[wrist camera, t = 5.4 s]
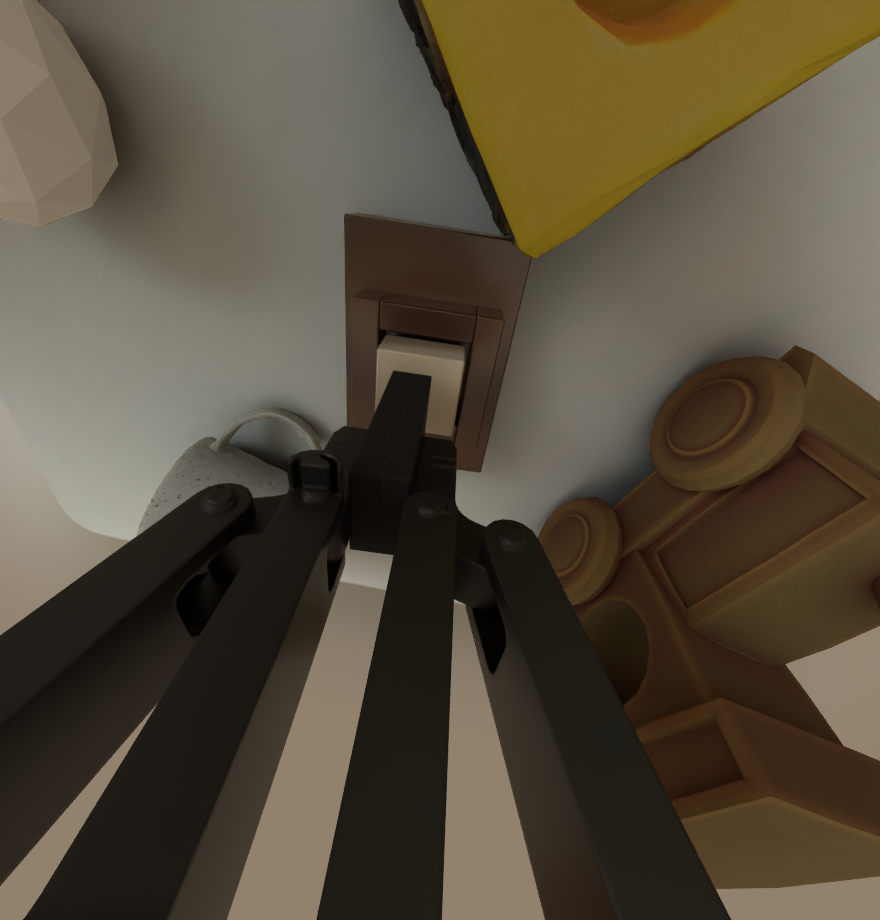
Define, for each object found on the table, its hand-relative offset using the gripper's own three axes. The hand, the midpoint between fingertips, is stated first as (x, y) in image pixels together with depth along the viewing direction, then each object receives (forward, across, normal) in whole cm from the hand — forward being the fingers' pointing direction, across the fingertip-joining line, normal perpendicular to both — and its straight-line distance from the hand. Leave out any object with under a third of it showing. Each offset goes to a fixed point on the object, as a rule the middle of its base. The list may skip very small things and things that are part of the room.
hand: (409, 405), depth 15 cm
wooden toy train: (+7, +17, -7) cm, 19 cm away
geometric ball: (+7, -16, +8) cm, 19 cm away
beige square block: (+3, 0, 0) cm, 3 cm away
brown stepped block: (+7, 0, 0) cm, 7 cm away
